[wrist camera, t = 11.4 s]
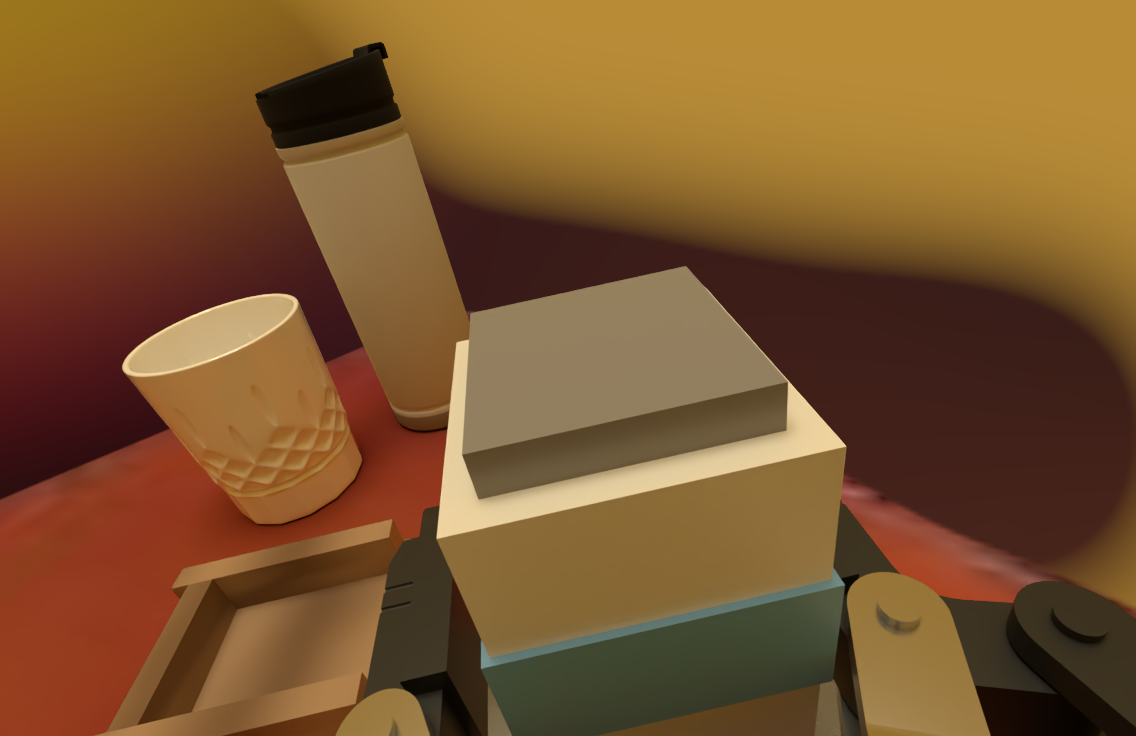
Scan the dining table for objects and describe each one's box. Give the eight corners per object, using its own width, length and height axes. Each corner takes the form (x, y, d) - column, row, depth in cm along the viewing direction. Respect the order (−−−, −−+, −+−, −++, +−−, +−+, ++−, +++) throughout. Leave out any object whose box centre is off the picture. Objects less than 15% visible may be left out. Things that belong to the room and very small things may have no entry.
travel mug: (513, 389, 36) (407, 34, 25) (427, 446, 32) (264, 62, 22) (461, 363, 40) (352, 51, 30) (380, 411, 37) (225, 77, 26)
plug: (619, 964, 12) (403, 503, 5) (589, 757, 16) (439, 306, 8) (801, 921, 12) (869, 398, 5) (731, 724, 16) (707, 248, 8)
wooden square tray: (111, 841, 18) (47, 800, 16) (226, 598, 25) (190, 555, 24) (387, 775, 18) (350, 728, 16) (418, 553, 25) (394, 507, 24)
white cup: (306, 430, 36) (229, 293, 31) (400, 444, 33) (330, 292, 28) (202, 521, 30) (85, 370, 25) (302, 548, 27) (192, 381, 22)
